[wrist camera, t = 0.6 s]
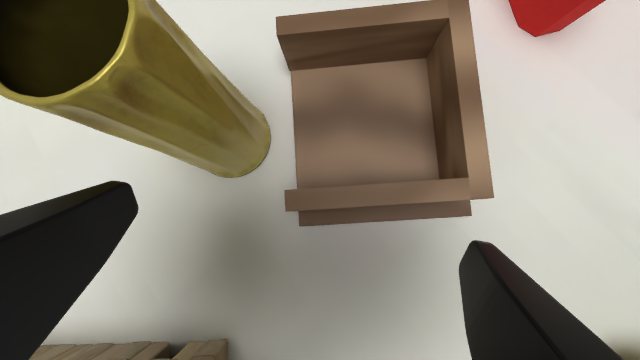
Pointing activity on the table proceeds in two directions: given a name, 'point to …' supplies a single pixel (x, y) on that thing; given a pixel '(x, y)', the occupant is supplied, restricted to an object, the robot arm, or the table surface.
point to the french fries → (549, 13)
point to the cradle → (385, 113)
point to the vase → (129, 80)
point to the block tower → (134, 351)
